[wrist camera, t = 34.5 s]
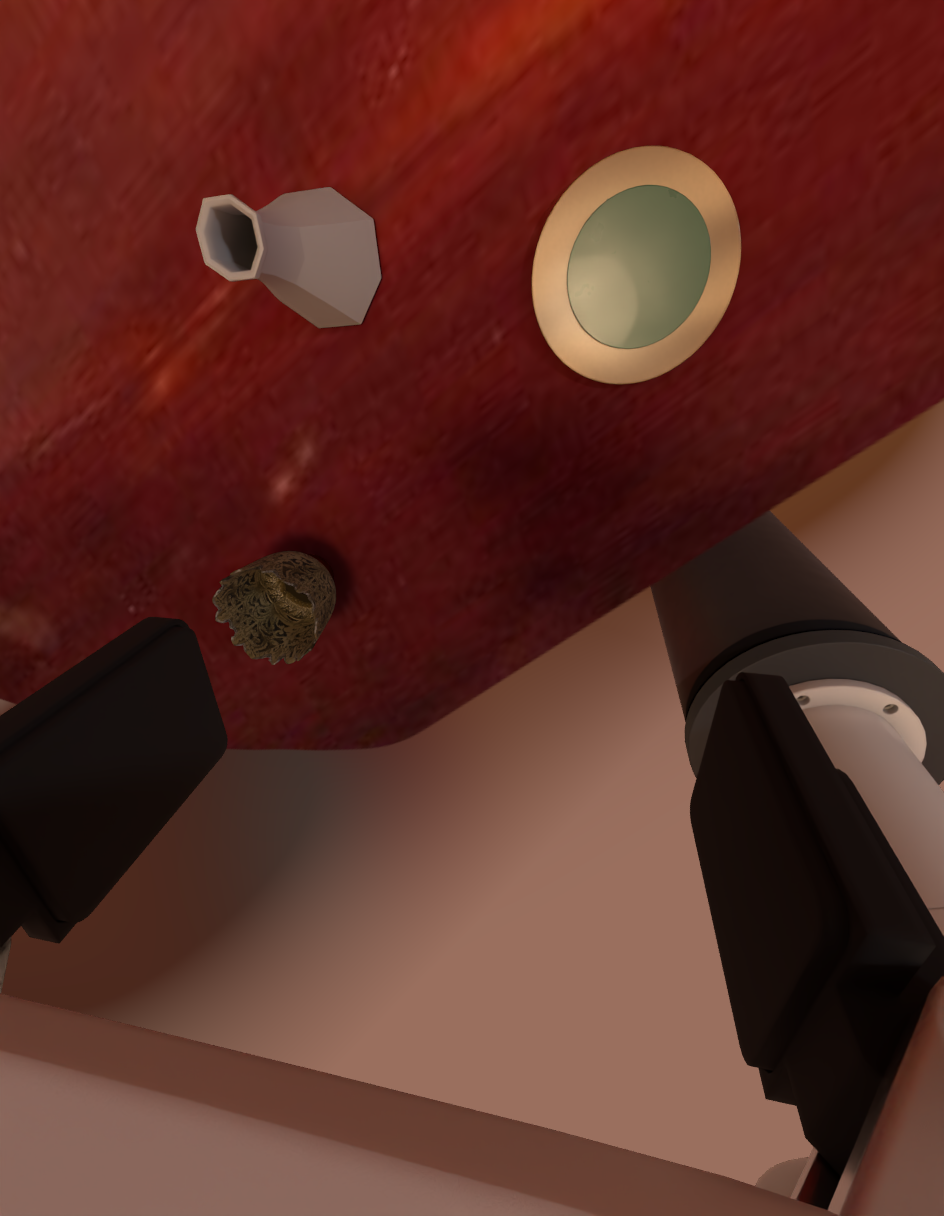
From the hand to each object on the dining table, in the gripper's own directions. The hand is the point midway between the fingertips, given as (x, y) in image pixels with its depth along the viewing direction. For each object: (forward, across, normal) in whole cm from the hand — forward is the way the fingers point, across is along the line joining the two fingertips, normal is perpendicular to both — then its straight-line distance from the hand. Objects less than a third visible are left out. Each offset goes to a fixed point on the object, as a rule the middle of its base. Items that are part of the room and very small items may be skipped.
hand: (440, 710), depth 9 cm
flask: (+28, +14, -10) cm, 33 cm away
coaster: (+28, -4, -8) cm, 30 cm away
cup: (+28, +18, +11) cm, 35 cm away
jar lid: (+26, -4, -8) cm, 28 cm away
